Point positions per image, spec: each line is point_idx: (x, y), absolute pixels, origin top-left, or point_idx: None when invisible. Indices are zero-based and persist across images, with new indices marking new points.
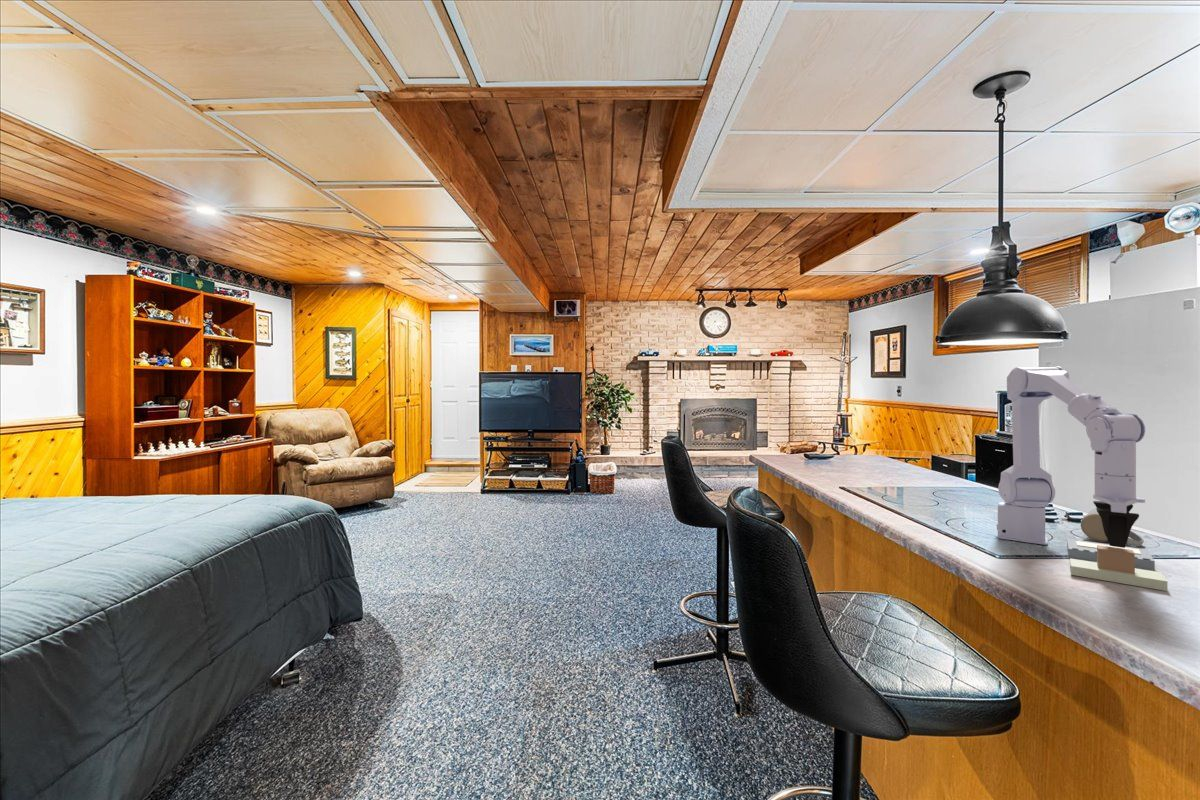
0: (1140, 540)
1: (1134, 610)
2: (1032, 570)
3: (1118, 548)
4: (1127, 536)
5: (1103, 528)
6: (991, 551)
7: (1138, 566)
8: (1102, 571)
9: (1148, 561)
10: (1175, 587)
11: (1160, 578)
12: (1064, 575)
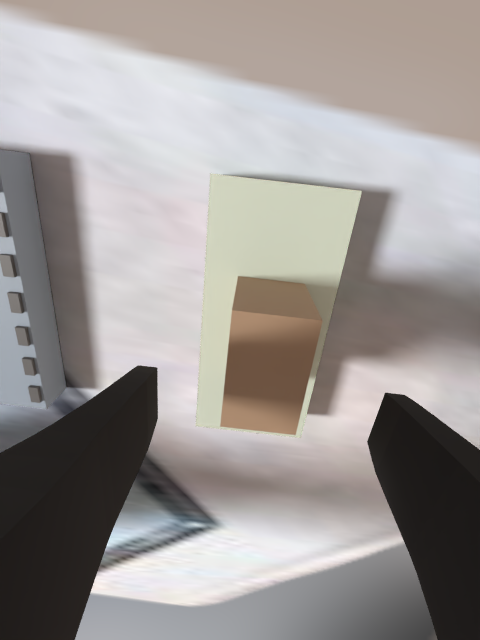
0: None
1: None
2: (294, 479)
3: (240, 363)
4: (470, 448)
5: (138, 469)
6: (152, 529)
7: (33, 207)
8: (315, 370)
9: (5, 173)
10: (259, 140)
11: (324, 206)
12: None
